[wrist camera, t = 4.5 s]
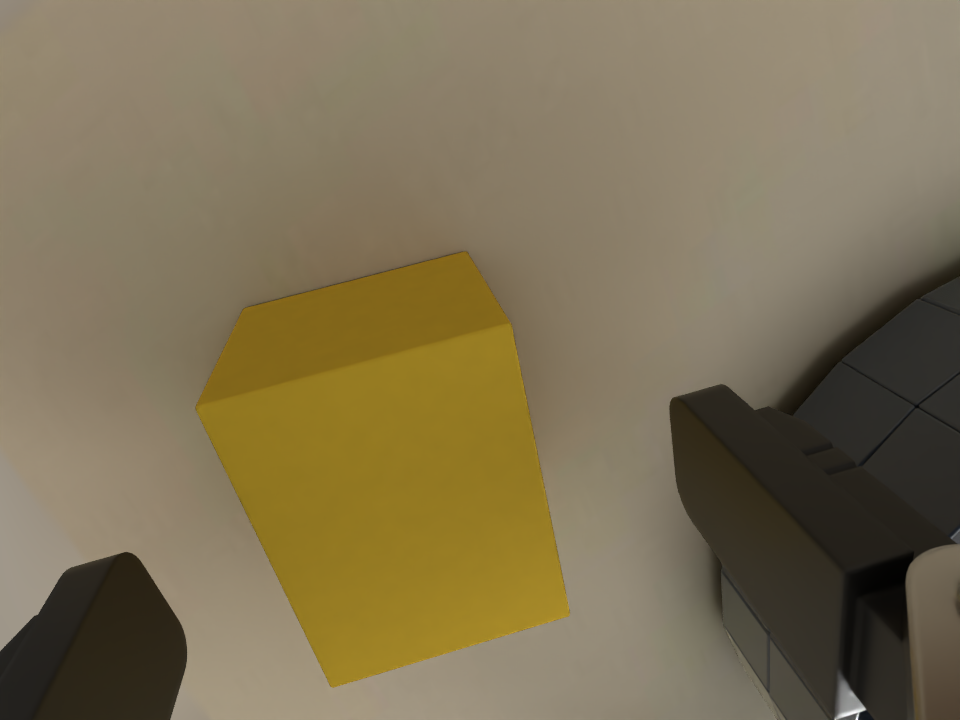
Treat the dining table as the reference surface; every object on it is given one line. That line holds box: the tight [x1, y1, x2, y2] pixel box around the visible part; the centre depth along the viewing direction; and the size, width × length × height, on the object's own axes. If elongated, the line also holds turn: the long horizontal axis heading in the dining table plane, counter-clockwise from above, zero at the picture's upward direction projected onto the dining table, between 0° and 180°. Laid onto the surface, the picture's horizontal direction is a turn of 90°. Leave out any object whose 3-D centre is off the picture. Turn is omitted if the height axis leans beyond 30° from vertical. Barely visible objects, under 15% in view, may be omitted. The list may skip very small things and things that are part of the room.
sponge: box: [195, 251, 570, 688], centre depth 12 cm, size 4×6×4 cm
